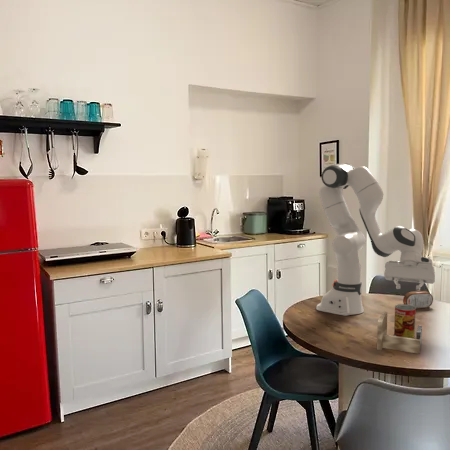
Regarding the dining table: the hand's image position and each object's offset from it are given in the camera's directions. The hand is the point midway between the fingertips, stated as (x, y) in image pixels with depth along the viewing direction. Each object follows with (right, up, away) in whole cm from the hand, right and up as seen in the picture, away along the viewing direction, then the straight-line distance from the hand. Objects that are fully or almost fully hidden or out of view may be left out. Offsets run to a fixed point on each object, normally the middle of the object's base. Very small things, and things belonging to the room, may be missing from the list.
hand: (407, 289), depth 185 cm
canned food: (-3, -19, -5) cm, 19 cm away
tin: (+18, -14, +31) cm, 39 cm away
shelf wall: (-10, -20, -17) cm, 28 cm away
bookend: (-3, -20, -17) cm, 26 cm away
